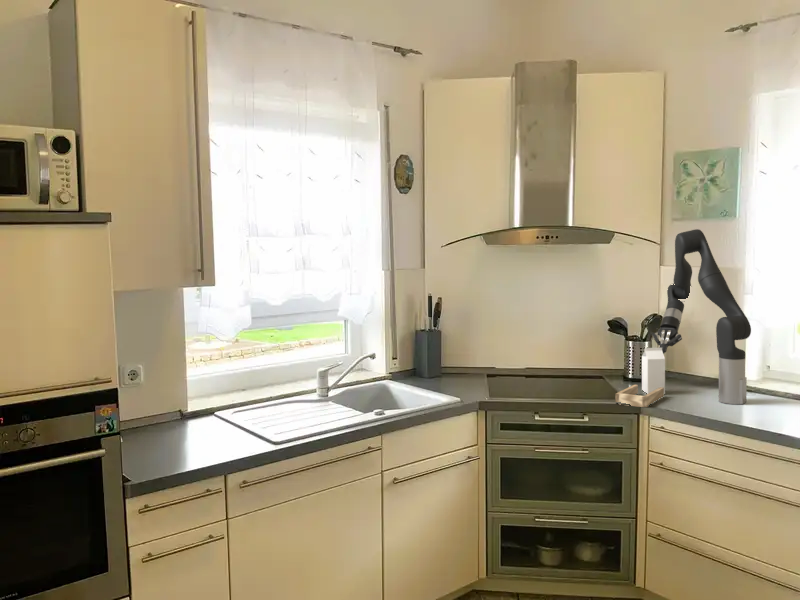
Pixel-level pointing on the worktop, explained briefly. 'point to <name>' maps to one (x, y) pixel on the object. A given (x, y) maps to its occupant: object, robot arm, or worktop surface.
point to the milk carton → (653, 369)
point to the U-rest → (636, 400)
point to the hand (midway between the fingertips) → (661, 352)
